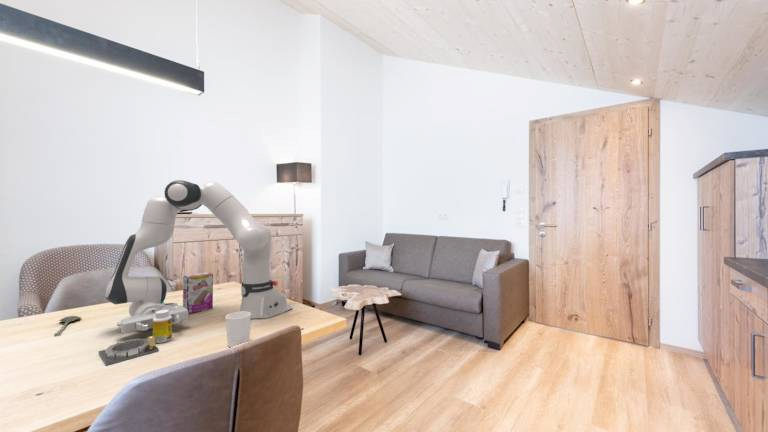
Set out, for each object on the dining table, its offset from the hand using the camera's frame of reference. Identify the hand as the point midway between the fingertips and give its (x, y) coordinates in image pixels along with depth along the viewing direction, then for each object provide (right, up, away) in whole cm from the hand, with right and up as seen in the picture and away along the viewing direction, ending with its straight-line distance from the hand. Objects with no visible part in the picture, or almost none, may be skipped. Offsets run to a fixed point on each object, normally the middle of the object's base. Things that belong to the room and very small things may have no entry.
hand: (161, 324), depth 114 cm
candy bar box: (-6, -5, +33) cm, 34 cm away
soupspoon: (-46, -6, +12) cm, 48 cm away
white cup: (+28, -6, -3) cm, 29 cm away
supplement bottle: (+1, -6, 0) cm, 6 cm away
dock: (-4, -6, -10) cm, 12 cm away
